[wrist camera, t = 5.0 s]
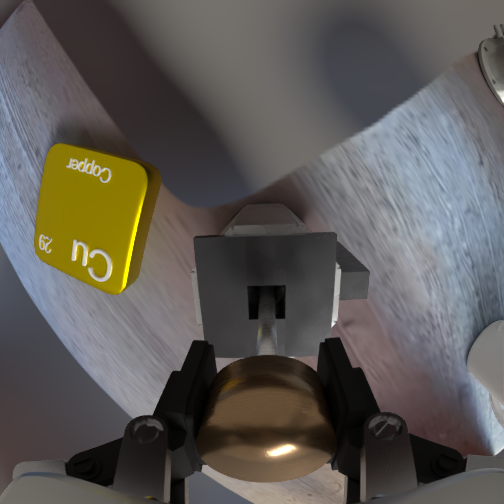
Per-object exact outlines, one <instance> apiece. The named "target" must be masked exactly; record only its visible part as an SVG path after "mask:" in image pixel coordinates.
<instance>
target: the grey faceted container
mask: <svg viewBox="0 0 504 504" xmlns="http://www.w3.org/2000/svg"><path fill="white" fill-rule="evenodd" d="M193 239H194V251H195V262H196V265H195V267H194V268H193V269H192V270H193V271H192V272H191V276H192V285H193V293H194V302H195V310H196V317H197V324H200V325H199V327H200V328H202V329H203V332H204V339H205V341H208V343H209V344H213V346H214V353H215V357H218V358H242V359H243V358H246V357H251V356H256V353H257V334H258V315H249V296H248V286H270V285H285V314H278V315H275V318H276V334H277V351H278V355H279V356H285V357H289V358H294V357H301V356H318V355H319V345H320V342H324V340H325V338H330V336H331V327H332V326H333V325H334V324H336V323H335V321H337V316H338V305H339V300H352V299H367V294H368V285H369V275H370V271H369V270H368V269H367V268H366V267H365V266H364V265H363V264H362V263H361V262H360V261H359V260H357V259H356V258H355V257H354V256H353V255H352V254H351V253H350V252H349V251H348V250H347V249H346V248H345V247H344V246H343V245H341V244H340V243H339V242H337V234H336V233H335V232H316V233H313V232H312V231H311V230H310V229H309V228H308V227H307V226H306V225H305V224H304V223H303V222H302V220H301V219H300V218H299V217H298V216H297V214H295V213H294V212H293V211H292V210H290V209H289V208H288V207H287V206H286V205H285V204H284V205H283V204H282V203H278V204H277V203H272V202H260V203H255V204H247V206H246V205H245V206H244V208H243V209H242V210H240V211H239V212H238V213H237V214H236V215H235V216H234V217H233V218H232V219H231V221H230V222H229V224H228V225H227V226H226V227H225V228H224V229H223V230H222V232H221V233H220V234H219V235H207V236H195V237H194V238H193Z"/></svg>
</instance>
